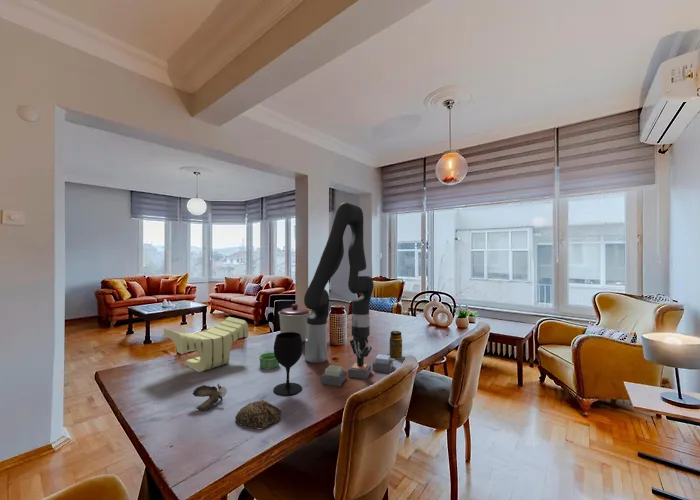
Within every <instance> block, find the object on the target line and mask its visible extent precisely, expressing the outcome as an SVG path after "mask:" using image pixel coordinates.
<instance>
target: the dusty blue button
mask: <svg viewBox="0 0 700 500" xmlns="http://www.w3.org/2000/svg"><path fill="white" fill-rule="evenodd" d="M375 359H376V363H379V364H388V365H389V363H390V355H387V354H377V356H375Z"/></svg>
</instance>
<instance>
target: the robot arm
mask: <svg viewBox="0 0 700 500" xmlns="http://www.w3.org/2000/svg"><path fill="white" fill-rule="evenodd" d="M331 226H332V227H331V230H330V233H329V234H328V235H329V236H328V239H327V242H326V245H325V246H324V249H323V252H322V254H321V256H320V259H319V263H318V264H317V267H316V270H315V272H314V275H313V277H312V280H311V282H310V283H309V285H308V287H307V289H306V292H305V294H304V298H303V303H304V305H305V307H306V309H308V310H310V311H311V313H310V315H309V316H308V318H307V338H306V340H305V341H304V361H305V362H308V363H313V364H319V363H324V362H326V361H327V357H328V356H327V339H328V338H327V336H328V335H327V334H328V332H327V331H328V330H327V329H328V328H327V327H328V326H327V325H328V318H329V314H330V295H329V292H328V290H326V287H327V284H328V283H329V282H330V280H331V279H332V278H333V276H335V274H336V273H337V271H338V270H339V268H340V266H341V263H342V260H343V258H344V255H345V247H344V236H345V231H346V229H347V226H349V227H350V231H351V239H350V243H349V246H348V249H347V251H348V252H347V253H348V254H347V255H348V257H347V258H348V263H349V273H348V281H347V283H348V284H347V286H348V289H349V292H351V293H352V294H360V297H358V298H355V299H353V301H352V304H351V306H352V309H351V311H352V312H351V315H352V316H351V336H352V337H353V339H352V340H351V339H350V340H349V344H350V346H351V349H352V352H353V354H354V355H355V357H356V363H357V366H359V367H361V366H363V365H364V364H365V363H364V362H365V361H364V360H365V359H364V358H366V357H368V356H369V354H370V353H371V351H372V349H373V347H372V346H370V345H369V339H368V338H369V336H370V335H371V334H370V333H371V332H370V331H371V330H370V328H371V326H370V324H371V321H370V319H371V318H370V302H371V298H372V296H373V295H372V294H373V291H374V285H375V284H374V280H373V278H372V277H371V276H369V275H360V276H359V273H360V272H363V271H365V270H366V269H367V262H366V261H367V260H366V256H365V255H366V253H365V247H364V244H365V243H364V210H362V208H361V207H359V205H355V204H352V203H349V202H342V203H340V205H339V206H338V207H337V210H336V212H335V215H334V219H333V222H332V225H331Z"/></svg>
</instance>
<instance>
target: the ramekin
mask: <svg viewBox="0 0 700 500" xmlns="http://www.w3.org/2000/svg"><path fill="white" fill-rule="evenodd" d="M258 358H259V366H260V368H262V369H265V368H270V369H274V367H275V368H277V367H278V366H279V365H280V363H279V362H278V361H277V360H276V358H275V355H274V352H265V353H261V354H260V355H259V357H258Z"/></svg>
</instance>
